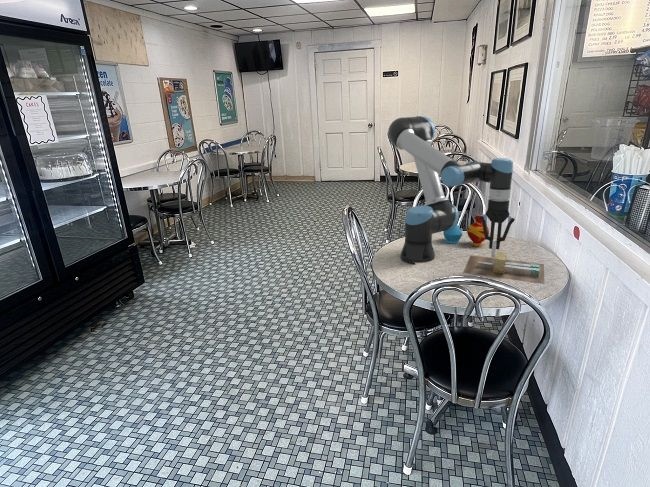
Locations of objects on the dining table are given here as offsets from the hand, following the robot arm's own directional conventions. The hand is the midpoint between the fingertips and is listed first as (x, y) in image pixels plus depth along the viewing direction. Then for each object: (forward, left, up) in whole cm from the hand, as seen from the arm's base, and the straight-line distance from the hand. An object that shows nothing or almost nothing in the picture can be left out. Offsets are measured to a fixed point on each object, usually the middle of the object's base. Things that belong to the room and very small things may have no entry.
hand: (493, 256), depth 159 cm
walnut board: (+4, +2, -7) cm, 8 cm away
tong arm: (+8, +1, -5) cm, 10 cm away
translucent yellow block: (+3, 0, -5) cm, 6 cm away
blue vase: (-22, +33, -7) cm, 40 cm away
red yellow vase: (-10, +32, -7) cm, 34 cm away
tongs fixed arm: (+6, -1, -5) cm, 8 cm away
